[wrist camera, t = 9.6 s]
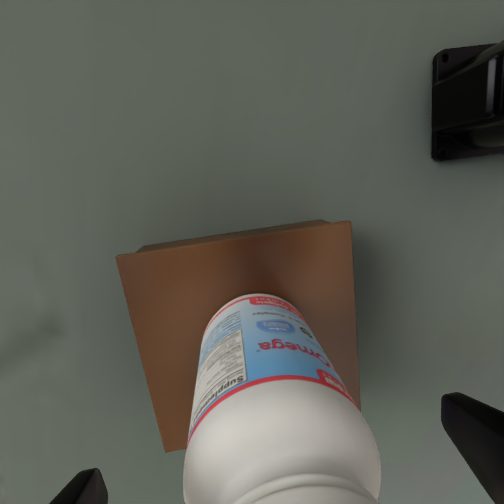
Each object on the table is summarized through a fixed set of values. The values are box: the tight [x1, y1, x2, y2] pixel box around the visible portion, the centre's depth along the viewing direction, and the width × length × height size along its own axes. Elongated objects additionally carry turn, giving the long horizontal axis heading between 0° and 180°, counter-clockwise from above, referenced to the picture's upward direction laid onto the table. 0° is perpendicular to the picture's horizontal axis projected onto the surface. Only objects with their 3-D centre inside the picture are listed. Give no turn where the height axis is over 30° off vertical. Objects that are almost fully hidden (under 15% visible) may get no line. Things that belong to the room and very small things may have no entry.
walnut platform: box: [115, 220, 361, 452], centre depth 18 cm, size 13×13×4 cm
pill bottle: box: [183, 294, 381, 504], centre depth 11 cm, size 6×6×11 cm
